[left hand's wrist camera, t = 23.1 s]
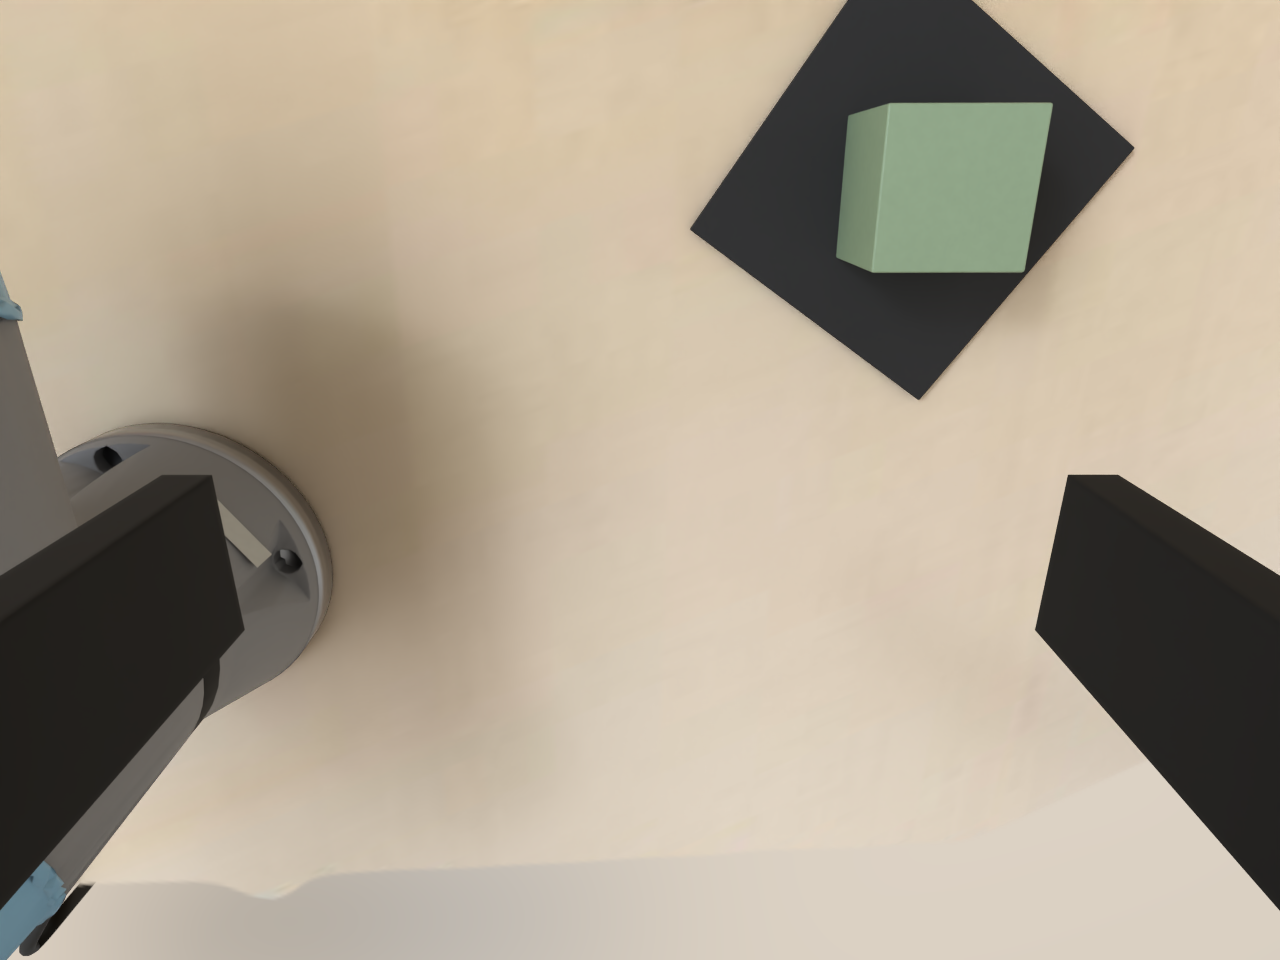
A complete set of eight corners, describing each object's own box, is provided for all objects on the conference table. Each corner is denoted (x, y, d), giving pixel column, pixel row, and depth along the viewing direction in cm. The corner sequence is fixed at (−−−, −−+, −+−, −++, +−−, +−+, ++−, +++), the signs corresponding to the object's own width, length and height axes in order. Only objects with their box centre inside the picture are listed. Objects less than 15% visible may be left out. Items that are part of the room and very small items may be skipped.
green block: (965, 257, 36) (1025, 272, 30) (835, 257, 36) (871, 273, 30) (986, 114, 34) (1054, 102, 28) (847, 114, 34) (888, 102, 28)
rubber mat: (916, 398, 39) (919, 400, 38) (689, 229, 36) (690, 229, 36) (1130, 148, 35) (1135, 147, 34) (893, -66, 32) (896, -69, 31)
